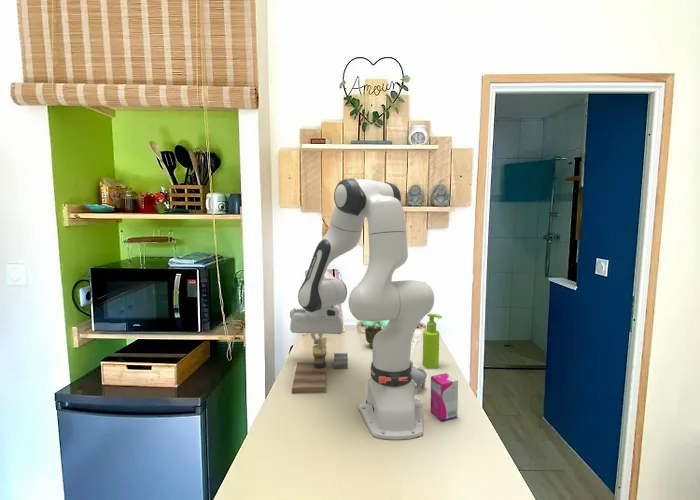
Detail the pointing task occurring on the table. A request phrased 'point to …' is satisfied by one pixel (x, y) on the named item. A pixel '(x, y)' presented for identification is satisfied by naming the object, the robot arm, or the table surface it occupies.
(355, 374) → the table surface
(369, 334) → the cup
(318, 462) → the table surface
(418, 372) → the pig figurine
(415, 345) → the fork
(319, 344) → the latch lever
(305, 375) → the lock base
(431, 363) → the soap dispenser
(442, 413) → the supplement box
